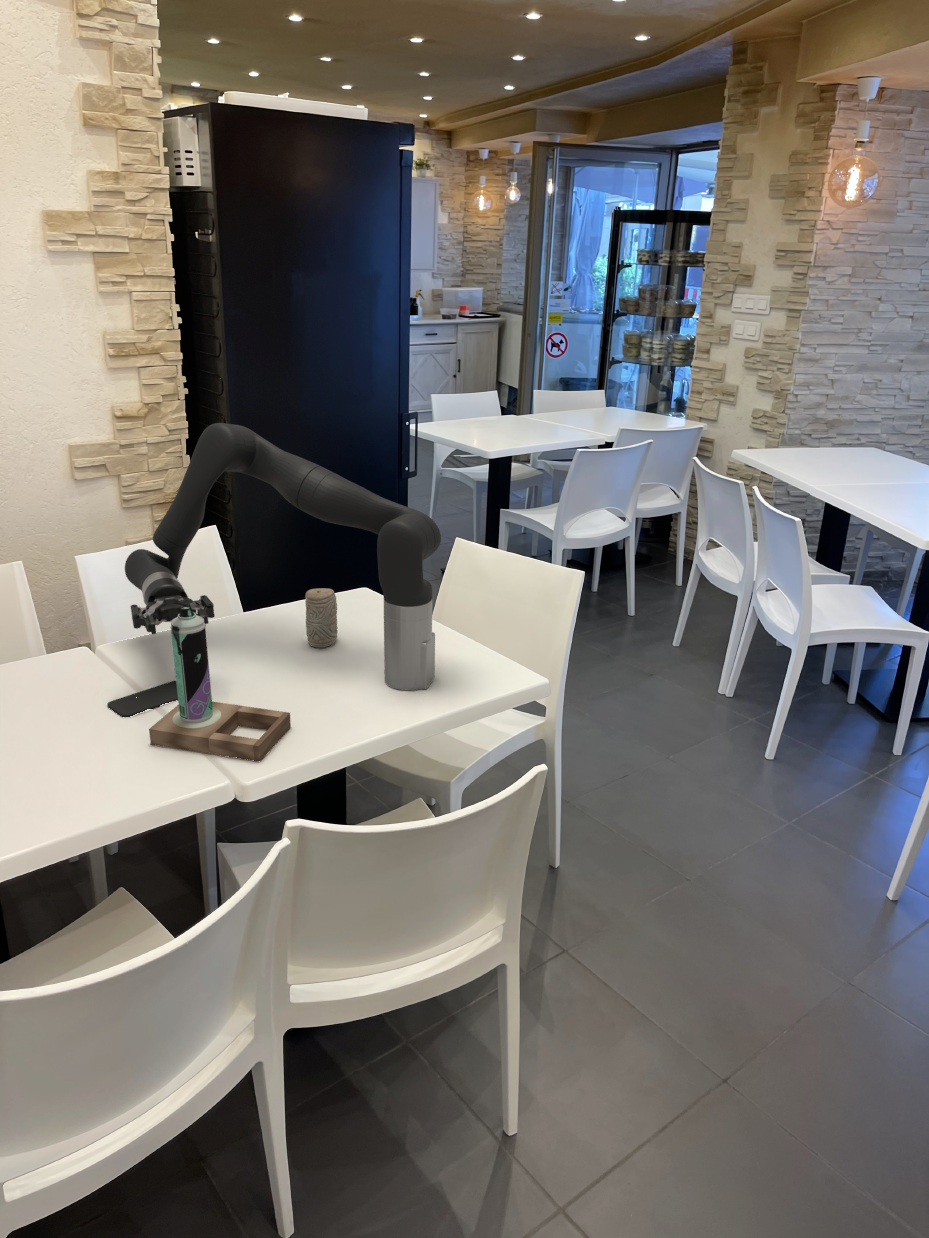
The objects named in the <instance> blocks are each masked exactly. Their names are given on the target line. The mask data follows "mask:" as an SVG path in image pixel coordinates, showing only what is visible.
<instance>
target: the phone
mask: <svg viewBox="0 0 929 1238" xmlns="http://www.w3.org/2000/svg"><path fill="white" fill-rule="evenodd" d="M136 697H137V698H136ZM176 700H177V701H178V693H177V684H176V679H175V680H172V681H169V682H165V683H162V684H160V685H156V686H153V687H149V688H147V689H145V690H140V691H138V692H135V693H131V694H129V695H126V696H123V697H119V698H116V699H113V700H110V701H109V702H107V708H108V709H109V708H110V709H109V710H111V709H112V710H113V711H114V712H113V711H112V710H111V711H112V712H113V713H115V714H116V713H117V714H116V715H118V716H119V715H120V716H119V717H121V718H123V717H129V718H131V717H130V716H133V715H135V714H137V713H140V712H143V711H145V710H147V709H153V710H155V709H158V708H161V707H160V705H162V704H165V703H169V702H172V701H175V702H177V701H176ZM172 703H173V702H172ZM169 704H170V703H169ZM135 716H136V715H135ZM133 717H134V716H133Z"/></svg>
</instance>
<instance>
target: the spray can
mask: <svg viewBox="0 0 929 1238" xmlns="http://www.w3.org/2000/svg"><path fill="white" fill-rule="evenodd" d="M170 635H171V642H172V643H171V644H172V653H173V655H172V656H173V663H174V671H175V672H174V673H175V680H176V684H177V693H178V700H177V702H178V704H179V712H180V719H181V720H182V721H183V722H186V723H201V722H204V721H207V720H209V719H210V718H211V717H212V716H213V707H212V701H213V698H212V687H211V675H210V666H209V665H210V663H209V653H208V642H207V630H206V627H205V623H204V619H203V618H202V617H200V616H197V615H196V614H195V613H194V612H193V611H192V608H191V606H187V607H184V608H181V612H180V614H178V617H177V618H175V619H173V620H172V621H171V622H170Z"/></svg>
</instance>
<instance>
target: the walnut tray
mask: <svg viewBox="0 0 929 1238" xmlns="http://www.w3.org/2000/svg"><path fill="white" fill-rule="evenodd" d="M212 707H213V716H212V717H211V718H210V719H209V720H207V721H204V722H201V723H186V722H183V721H182V720H181V719H180V712H179V703H178V704H177V705H176V706H175V707H173V708H172V709H171V710H170V711H169V712H168V713H167V714H165V715H164V716H163V717H161V719H159V720H158V721H156V723H155V724H153V725H152V726H151V727H150V728H148V731H149V732H148V733H149V740H150V746H158V747H164V748H169V749H175V750H183V751H186V752H187V751H188V752H194V753H201V754H208V755H215V756H219V755H221V757H225V756H229V757H228V758H231V757H237V758H236V759H238V758H241V759H240V760H244V759H246V761H250V760H254V761H253V762H257V761H260V762H261V761H262V760H263V759H264V758H265V757H267V755H268V754H269V753H270V752H271V750H272V749H273V748H274V747H275V746H276V745H277V744H278V743H279V742H280V741H281V739H283V737H284V736H285V735H286V734H287V732H289V731H290V729H291V728H292V726H291V712H287V711H280V710H275V709H274V710H273V709H268V708H267V709H266V708H259V707H253V706H247V705H239V704H234V703H226V702H225V703H224V702H219V701H213V700H212ZM238 727H241V728H248V729H254V730H255V729H256V730H261V731H264V733H263V734H262V735H261V736H260V737H259V738H253V737H245V736H239V735H233V732H234V731H235V730H236V729H238ZM268 752H269V753H268ZM267 753H268V754H267ZM266 754H267V755H266ZM247 759H248V760H247Z"/></svg>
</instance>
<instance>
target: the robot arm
mask: <svg viewBox="0 0 929 1238" xmlns="http://www.w3.org/2000/svg"><path fill="white" fill-rule="evenodd" d="M224 472H233V473H240V474H241V473H242V474H244V475H247V476H250V477H253V478H256V479H258V480H260V481H262V482H265V483H266V484H268V485H270V486H272V487H273V488H274V489H275V490H276V491H277V492H278V493H279V494H280V495H281V496H282V498H284V499H285V500H286V501H287V502H289V503H290V505H292V506H294V507H295V508H297V509H299V510H300V511H302V512H303V513H306V514H308V515H310V516H312V517H314V518H316V519H319V521H324V522H326V523H331V524H335V525H338V526H339V525H341V526H344V527H345V526H346V527H351V528H356V529H360V530H361V529H362V530H366V531H368V532H371V533H374V534H375V535H377V541H376V542H377V543H376V546H377V548H376V552H377V568H378V580H379V581H378V582H379V584H380V587H381V590H382V593H383V644H384V645H383V650H384V652H383V655H384V656H383V657H384V668H383V669H384V670H383V671H384V683H385V684H386V685H387V686H388V687H390V688H392V689H395V690H399V691H401V690H402V691H415V690H427V689H428V688H429V686H430V684H431V683H432V682H433V680H434V678H435V677H436V675H435V674H436V673H435V671H436V668H435V667H436V632H434V631H433V586H432V584H431V583H430V581H429V580H427V579H424V568H423V567H424V566H423V562H424V560H426V559H428V558H429V557H431V556H433V554H434V553H435V552H436V551H437V550H439V549H438V548H440V545H441V541H442V538H441V537H442V535H441V531H440V528H439V527H438V524H437V523H436V522H435V521H434V519H432V517H430V516H429V515H428V514H426V513H424V512H421V511H420V510H417V509H414V508H411V507H409V506H405V505H402V504H401V503H397V502H394V501H392V500H389V499H387V498H385V497H382V496H380V495H378V494H376V493H374V492H372V491H370V490H368V489H367V488H365V487H363V486H360V485H359V484H356V483H355V482H352V481H351V480H348V479H346V478H344V477H343V476H340V475H339V474H337V473H335V472H333V471H332V470H329V469H328V468H326V467H323V466H321V465H319V464H317V463H314V462H312V461H310V460H307V459H305V458H303V457H301V456H298V455H295V454H292V453H290V452H288V451H285V450H283V449H281V448H279V446H276V445H275V444H273V443H271V442H270V441H269V440H267V439H265V438H264V437H262V436H261V435H259V434H258V433H256V432H255V431H253V430H251V429H250V428H248V427H245V426H243V425H239V424H231V423H225V422H216V423H212V424H210V425H208V426H207V427H206V428H205V429H204V430H203V431H202V433H201V434H200V437H199V438H198V441H197V443H196V445H195V448H194V450H193V453H192V456H191V458H190V461H189V464H188V466H187V468H186V471H185V474H184V476H183V478H182V481H181V483H180V486H179V488H178V491H177V493H176V494H175V497H174V499H173V501H172V503H171V505H170V506H169V508H168V509H167V511H166V513H165V515H164V516H163V518H162V519H161V521H160V522H159V524H158V526H157V527H156V529H155V531H154V533H153V534H152V542H153V543H154V545H155V547H157V549H159V550H160V551H162V552H163V553H164V554H165V555H166V556H168V557H164V556H162V555H160V554H157V553H155V552H153V551H150V550H148V549H145V548H138V549H135V550H133V551H132V552H131V553H130V554H129V555H127V558H126V560H125V563H124V572H125V576H126V578H127V580H128V581H129V583H131V584H132V585H133V586H135V588H137V589H138V590H139V591H141V593H142V594H141V595H142V598H143V599H142V600H143V603H144V605H145V607H141V606H138V605H137V604H131V605H130V612H131V620H132V625H133V628H134V629H137V630H138V629H140V628H141V627H144V628H145V630H146V632H147V633H150V634H151V635H156V634H157V628H156V626H160V624H162V623H164V622H165V623H171V621H172V620H173V619H175V618H177V617H178V614H180V612H181V608H184V607H187V606H191V608H192V611H193V612H194V613H195V614H196V615H197V616H200V617H202V618H203V619H204V623H205V628H206V626H207V624H209V619H213V618H215V608H214V603H213V602H212V600H210V598H209V597H208V596H207V595H200V597H199V600H198V599H197V600H193V599H192V598H189V595H188V594H187V592H186V591H185V588H184V587H183V585H182V583H181V582H180V581H179V579H178V577H179V573H180V570H181V569H180V568H181V565H182V562H183V559H184V557H185V553H186V551H187V550H188V548H189V546H190V544H191V543H192V541H193V539H194V538H195V536H196V534H197V533H198V532H199V529H200V527H201V525H202V524H203V520H204V517H205V512H206V503H207V498H208V496H209V493H210V492H211V489H212V488H213V486H214V484H215V483H216V482H217V480H218V479H219V478H220V476H222V474H223V473H224Z"/></svg>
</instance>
